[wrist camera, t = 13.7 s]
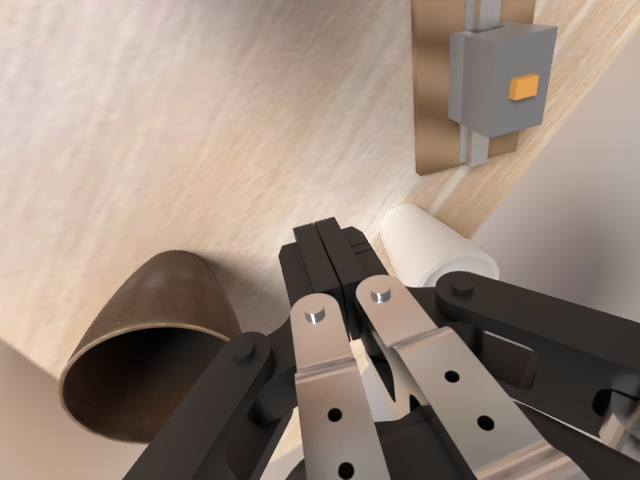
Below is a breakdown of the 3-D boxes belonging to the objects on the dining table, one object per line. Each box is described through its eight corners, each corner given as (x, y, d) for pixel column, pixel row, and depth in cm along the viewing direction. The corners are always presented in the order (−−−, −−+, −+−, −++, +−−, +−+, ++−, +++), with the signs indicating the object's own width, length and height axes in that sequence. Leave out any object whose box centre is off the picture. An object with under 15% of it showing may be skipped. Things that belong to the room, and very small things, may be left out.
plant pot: (132, 198, 38) (90, 302, 25) (263, 246, 45) (284, 349, 32) (88, 303, 44) (35, 435, 31) (212, 333, 51) (211, 451, 37)
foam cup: (446, 194, 47) (514, 252, 37) (424, 255, 52) (479, 323, 41) (376, 190, 45) (428, 251, 34) (360, 255, 49) (400, 327, 39)
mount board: (407, -130, 30) (414, -134, 29) (545, -156, 31) (556, -161, 30) (415, 171, 44) (420, 175, 43) (509, 146, 46) (515, 150, 45)
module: (449, 33, 36) (502, 42, 29) (501, 21, 36) (565, 27, 30) (447, 117, 40) (493, 141, 34) (494, 105, 41) (547, 126, 34)
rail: (469, -136, 29) (484, -144, 28) (502, -142, 30) (519, -150, 28) (457, 161, 44) (467, 168, 42) (480, 155, 44) (490, 162, 42)
